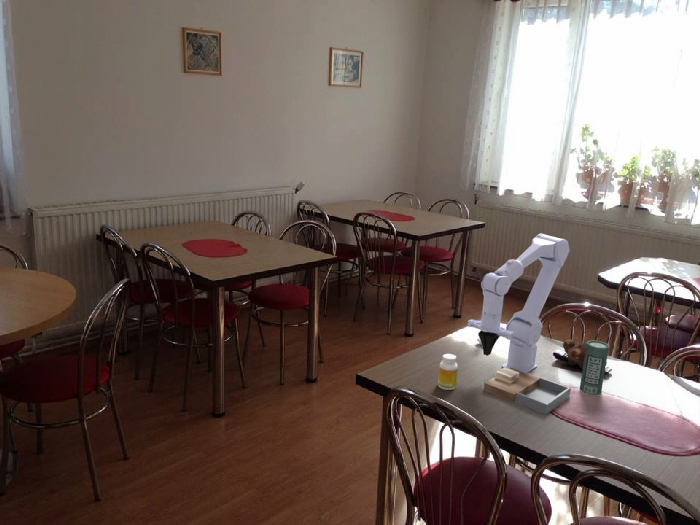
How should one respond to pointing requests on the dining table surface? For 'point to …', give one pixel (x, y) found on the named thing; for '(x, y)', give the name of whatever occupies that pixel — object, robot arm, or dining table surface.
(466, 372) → the dining table surface
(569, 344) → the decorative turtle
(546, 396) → the box
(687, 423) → the dining table surface
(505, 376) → the wooden tile
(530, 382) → the wooden board
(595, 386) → the can
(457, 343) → the dining table surface
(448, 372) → the supplement bottle
